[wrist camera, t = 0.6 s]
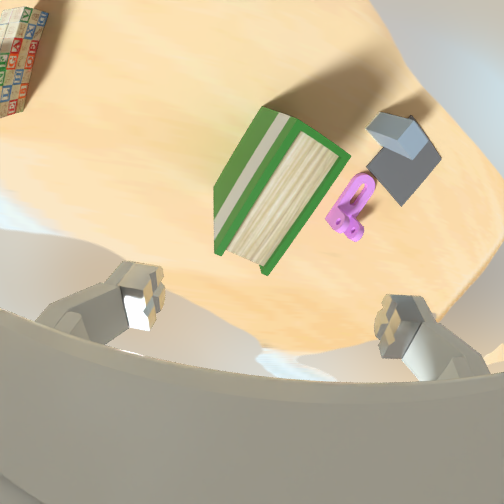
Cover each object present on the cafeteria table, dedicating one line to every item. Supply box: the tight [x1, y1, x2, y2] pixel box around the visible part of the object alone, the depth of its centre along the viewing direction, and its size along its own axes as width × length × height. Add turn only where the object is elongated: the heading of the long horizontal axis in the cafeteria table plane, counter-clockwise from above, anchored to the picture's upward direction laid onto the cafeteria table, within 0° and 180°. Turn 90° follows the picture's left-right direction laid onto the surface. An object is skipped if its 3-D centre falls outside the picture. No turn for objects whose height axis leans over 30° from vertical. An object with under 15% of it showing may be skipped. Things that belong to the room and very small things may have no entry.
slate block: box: [365, 112, 428, 160], centre depth 47 cm, size 5×5×12 cm
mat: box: [366, 115, 441, 207], centre depth 56 cm, size 14×16×1 cm
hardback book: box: [214, 107, 351, 276], centre depth 42 cm, size 18×7×24 cm, turn 149°
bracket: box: [325, 173, 375, 242], centre depth 57 cm, size 13×6×7 cm, turn 150°
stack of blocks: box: [0, 7, 49, 118], centre depth 29 cm, size 21×6×12 cm, turn 161°
